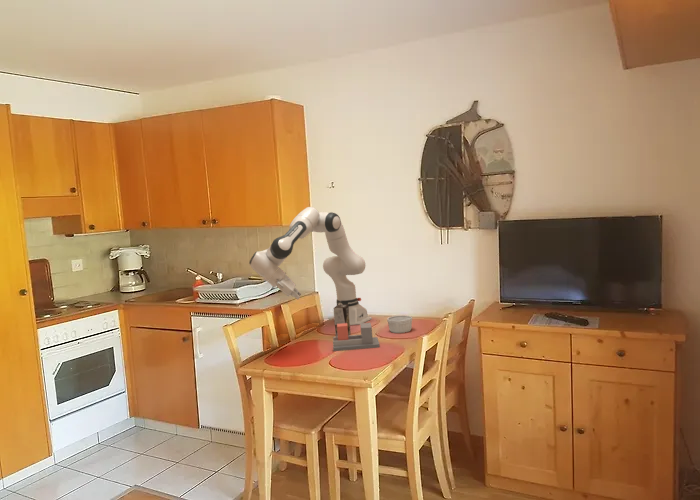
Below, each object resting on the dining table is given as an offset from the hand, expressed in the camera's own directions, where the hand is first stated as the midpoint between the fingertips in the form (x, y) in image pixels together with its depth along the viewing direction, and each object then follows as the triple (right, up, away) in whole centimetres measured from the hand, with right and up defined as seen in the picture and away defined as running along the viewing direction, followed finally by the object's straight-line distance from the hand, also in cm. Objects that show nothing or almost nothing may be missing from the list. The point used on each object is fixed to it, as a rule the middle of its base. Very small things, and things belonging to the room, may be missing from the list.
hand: (299, 296), depth 267 cm
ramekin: (+51, -20, +26) cm, 61 cm away
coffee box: (+21, -23, +23) cm, 38 cm away
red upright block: (+21, -23, +3) cm, 31 cm away
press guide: (+27, -24, +3) cm, 36 cm away
